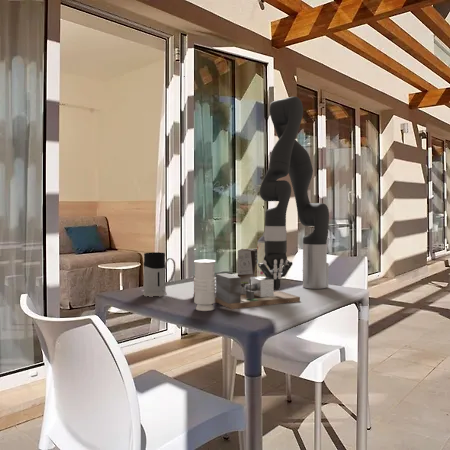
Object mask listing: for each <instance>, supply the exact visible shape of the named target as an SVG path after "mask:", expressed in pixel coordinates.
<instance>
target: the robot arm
mask: <svg viewBox="0 0 450 450" xmlns="http://www.w3.org/2000/svg"><path fill="white" fill-rule="evenodd" d="M269 114H270V119H271V120H270V121H271V123H272V125H273V128H274V130H275V133H276V136H277V137H278V140H277V141H276V143H275V144H274V146H273V148H272V150H271V153H270V158H269V165H268V168H267V172H266V173H265V175H264V178H263V180H262V182H261V184H260V187H259V195H260V198H261V200H263V201H265V202H278V203H277V204H276V206H275V207H272V208H271V207H270V208H267V209H266V210H265V213H264V214H265V216H264V219H265V220H264V221H265V225H264V227H265V228H264V233H265V257H264V261H263V262H262V263H259V264H258V266H259V267H260V269H261V270H262V272H263V273H264V274H265V276H266V277H269V278H271V279H274V291H280V288H281V279H282V278H283V277H284V278H285V277H286V275H287V274H288V272H289V271H290V269H291V267H292V266H293V262H292V261H290V260H288V256H287V248H288V247H287V244H288V243H287V240H288V237H287V235H288V233H287V212H288V211H287V210H288V206H289V201H290V200H291V199H290V198H291V196H292V195H291V194H292V190H293V194H294V199H295V204H296V205H295V206H296V212H297V216H298V219H299V222H300V223H301V225H303V226H305V227H313V231H312V232H310V233H309V234H307V235H305V236H303V238H302V288H306V289H311V290H312V289H313V290H315V289H316V290H318V289H319V290H320V289H326V288H329V280H330V279H329V274H330V273H329V272H330V271H329V270H330V269H329V262H328V261H327V259H328V258H327V256H328V255H327V254H328V253H327V250H328V249H327V246H328V245H327V243H328V242H327V241H328V237H329V228H330V227H329V225H330V222H329V221H330V211H329V207H328V205H327V204H325V203H323V202H313V203H312V202H310V199H309V193H308V190H309V186H310V183H311V180H312V178H313V173H314V169H313V165H312V161H311V157H310V153H309V152H308V151H307V149H306V148H305V147H304V146H303V145H302V144H301V143H300V142H299V141H298V140H296V138H297V135H298V132H299V130H300V126H301V123H302V120H303V115H304V106H303V102H302V100H301V99H300V97H298V96H290V97H285V98H281V99H280V98H279V99H277V100H274V101H272V102H270V105H269ZM287 176H289V178H290V182H289V181H287V180H286V179H283V180H279V179H281V178H285V177H287ZM290 183H291V184H290ZM266 264H267V265H266ZM267 266H268V267H269V270H268V269H267Z"/></svg>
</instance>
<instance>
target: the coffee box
mask: <svg viewBox="0 0 450 450" xmlns="http://www.w3.org/2000/svg"><path fill="white" fill-rule="evenodd" d="M237 276H238V277H241V295H245V294H246V291H245V289H244V286H245V284H250V277H257V248H241V249H238V250H237Z"/></svg>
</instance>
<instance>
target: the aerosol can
mask: <svg viewBox="0 0 450 450" xmlns="http://www.w3.org/2000/svg"><path fill="white" fill-rule="evenodd" d="M256 249H257V277H260V276H264V277H266V276H265V274H264V273H263V272H262V270H261V269H260V267H259V266H258V264H259V263H262V262H263V261H264V257H265V232H263V233H262V235H261V237H259V239H257V248H256ZM266 265H267V264H266ZM267 269H268V270H269V267H268V266H267ZM268 278H269V277H268Z"/></svg>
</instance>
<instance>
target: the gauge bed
mask: <svg viewBox="0 0 450 450" xmlns="http://www.w3.org/2000/svg"><path fill="white" fill-rule="evenodd" d="M215 278H216V280H215V282H216V284H215V286H216V288H215V289H216V291H215V301H216V302H215V303H217V304H219V305H221V306H223V307H226V308H227V309H229V310H233V309H242V308H243V309H244V308H252V307H253V308H254V307H260V306H271V305H278V304H279V305H280V304H288V303H297V302H301V296H297V295H295V294H291V293H288V292H284V291H281V290H275V291H274V296H267V297H259V296H256V295H254V299H249V298H246V294H241V277H238V275H235V274H231V273H224V272H223V273H215Z"/></svg>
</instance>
